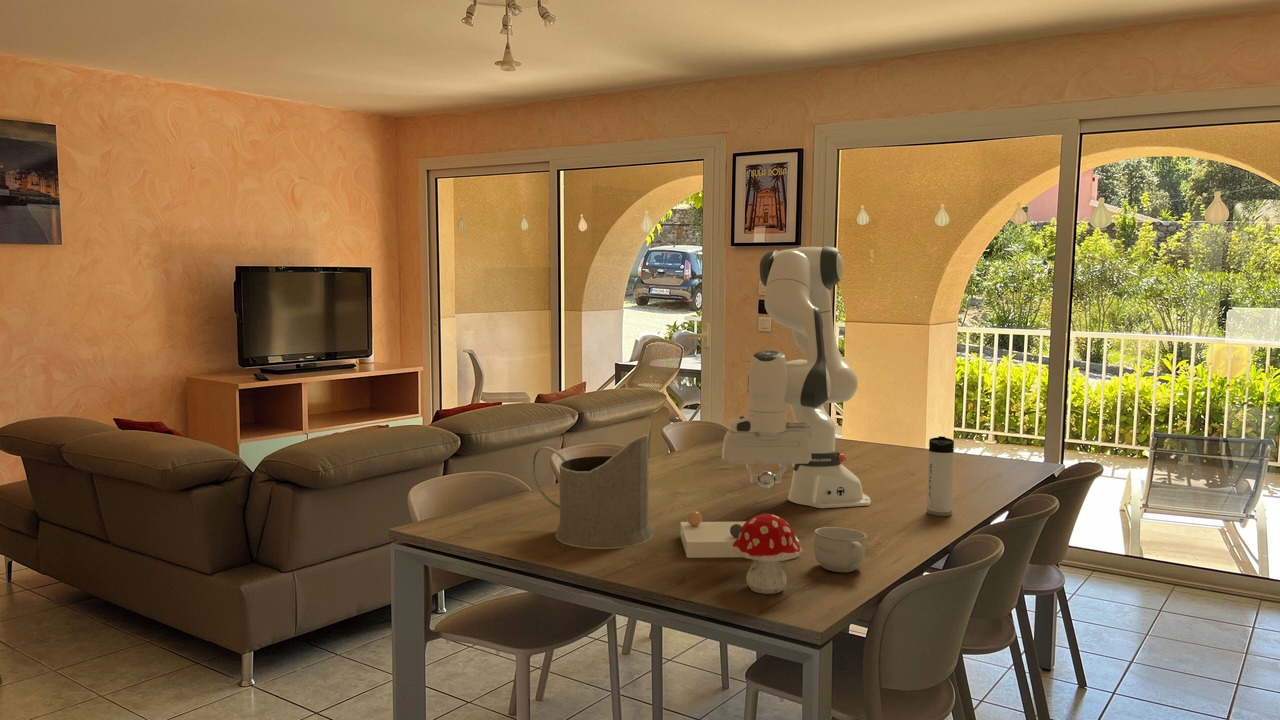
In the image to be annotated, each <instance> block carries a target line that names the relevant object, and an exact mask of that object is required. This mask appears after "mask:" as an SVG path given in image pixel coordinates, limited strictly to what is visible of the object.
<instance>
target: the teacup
mask: <svg viewBox="0 0 1280 720" xmlns="http://www.w3.org/2000/svg"><path fill="white" fill-rule="evenodd" d="M867 538H868V537H867V534H866V533H865V532H862V531H860V530H857V529H851V528H847V527H839V526H838V527H835V526H824V527H819V528H816V529H815V530H814V545H813V546H814V549H813V551H814V556H815V560H816V562H817V563H818V564H820V565H821V567H822V568H824V569H825V570H826V571H827V570H828V571H832V572H834V573H835V572H836V573H851V572H854V571H855V570H856V569H858V568H859V567H861V566H862V564H863V563H864V561H865V555H866V542H867Z"/></svg>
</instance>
